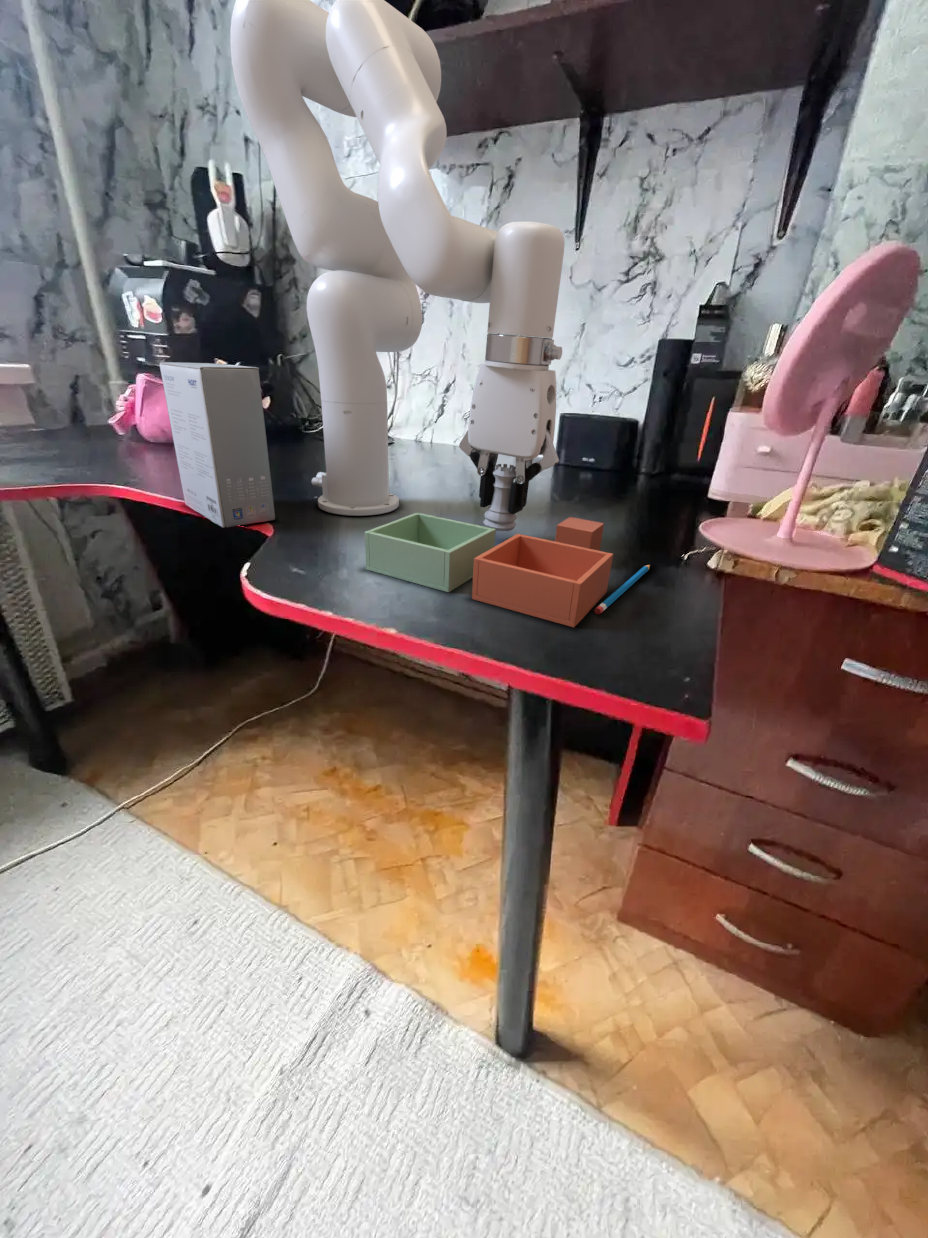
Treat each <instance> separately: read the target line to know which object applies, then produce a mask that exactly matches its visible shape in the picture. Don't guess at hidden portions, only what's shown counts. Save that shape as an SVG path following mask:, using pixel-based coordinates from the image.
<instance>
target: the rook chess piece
mask: <svg viewBox="0 0 928 1238" xmlns="http://www.w3.org/2000/svg"><path fill="white" fill-rule="evenodd" d="M502 465H503V466H502ZM493 475H494V477H495V483H494V484H493V485H494V494H493V498H492V502H491V505H489V506H488V509H487V510H486V511H485V512H484V518H485V519H484V520H482V521H483V522H482V523H483V524H484V527H488V528H493V529H496V532H509V531H512V530H513V529H515V527H516V526H517V522H515V521H516V520H517V519H518V518H517V517H518V516H517V513H515V514H510V513H509V512H508V508H509V499H510V490H511V484H512V483H514V482H515V478H516V465H515V466H514V464H509V467H508V463H503V464H502V463H497V464H496V467H495V470H494V471H493Z"/></svg>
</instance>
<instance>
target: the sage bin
mask: <svg viewBox="0 0 928 1238" xmlns="http://www.w3.org/2000/svg"><path fill="white" fill-rule="evenodd" d="M496 532H497V531H496V529H493V528H488V527H486V526H485V525H484V526H483V525H479V524H474V523H469V522H464V521H460V520H454V519H449V518H446V517H440V516H436V515H431V514H427V513H421V512H415V513H412V514H409V515H406V516H404V517H401V518H398V519H396V520H393V521H391V522H388V523H385V524H382V525H379V526H377V527H374V528H371V529H368V530H366V531H364V548H365V549H364V550H365V551H364V552H365V570H366V571H370V572H374V573H378V574H381V575H385V576H388V577H391V578H395V579H399V580H402V581H406V582H409V583H414V584H417V585H421V586H423V587H428V588H432V589H435V590H439V591H442V592H445V593H450V592H453V590H455V589H457V588H458V587H460V586H462V585H463V584H465V583H467V582H468V581H470V580H472V579H473V569H474V558H476V557H477V556H479V555H481V554H483V553H484V552H486V551H488V550H490V549H492V548H493V547H495V546H496Z"/></svg>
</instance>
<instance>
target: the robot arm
mask: <svg viewBox="0 0 928 1238" xmlns="http://www.w3.org/2000/svg"><path fill="white" fill-rule="evenodd" d="M229 34H230V35H229V37H230V38H229V43H230V45H229V46H230V59H231V66H232V71H233V73H232V74H233V77H234V83H235V86H236V90H237V93H238V97H239V100H240V102H241V105H242V108H243V110H244V113H245V115H246V117H247V119H248V122H249V124H250V126H251V129H252V131H253V133H254V135H255V137H256V139H257V141H258V144H259V147H260V148H261V150H262V154H263V155H264V158H265V162H266V164H267V167H268V170H269V172H270V173H269V174H270V176H271V179H272V182H273V185H274V188H275V192H276V194H277V197H278V201H279V203H280V206H281V209H282V212H283V215H284V218H285V220H286V224H287V226H288V230H289V232H290V235H291V238H292V240H293V243H294V245H295V248H296V250H297V252H298V254H299V256H300V257H301V258H302V259H303V260H304V261H305V262H306V263H307V264H309V265H311V266H313V267H315V268H319V269H323V270H326V271H327V272H325V273H324V272H323V274H321V275H319V276H318V277H317V278H316V279H315V280H314V281H313V282H312V284H311V286H310V287H309V289H308V293H307V297H306V315H307V321H308V327H309V330H310V333H311V334H310V335H311V338H312V343H313V346H314V350H315V357H316V362H317V370H318V379H319V393H320V402H321V403H320V404H321V416H322V417H321V418H322V431H323V433H322V434H323V448H324V461H325V462H324V463H325V472H324V471H323V472H322V471H319V472H317V473H316V475H315V477H312V478H311V485H312V486H314V487H318V488H321V489H322V495H320V496H319V497H318V498H317V505H318V508H319V509H320V510H322V511H324V512H327V513H330V514H333V515H340V516H351V517H352V516H354V517H363V516H376V515H377V516H378V515H383V514H387V513H390V512H393V511H395V510H397V509H398V508H399V507H400V499H399V497H398V496H397V495H396V494H393V493H391V492H390V480H389V479H390V475H389V474H390V473H389V471H390V469H389V465H390V464H389V423H388V422H389V418H388V417H389V415H388V414H389V413H388V389H387V381H386V376H385V372H384V369H383V366H382V364H381V362H380V360H379V357H378V354H377V353H399V352H403V351H407V350H409V349H410V348H411V347H413V346H414V345H415V343H416V342H417V341H418V340H419V337H420V334H421V331H422V326H423V309H422V303H421V299H420V294H419V291H418V288H419V289H420V290H422V291H423V292H424V293H426V294H428V295H431V296H434V297H439V298H446V299H451V300H458V301H462V302H468V303H474V304H489V308H488V320H487V331H486V333H487V334H486V344H485V346H486V347H485V354H484V355H485V356H484V357H485V358H484V363H480V364H479V368H478V370H477V374H476V379H475V382H474V388H473V390H472V396H471V402H470V408H469V416H468V417H469V418H468V424H467V425H468V427H467V431H466V432H465V434H464V435H463V437H462V439H461V441H460V442H459V444H458V447H459V449H460V450H461V451H462V452H463V453H464V454H465V455H466V456H467V457H469V458H470V461H471V462H472V463H473V466H475V468H476V473H477V475H478V476H480V480H479V490H478V491H479V492H478V498H479V499H480V500H479V501H480V502H479V506H480V507H481V508H487V507H489V506H490V505H491V502H492V498H493V494H494V485H493V484H494V483H495V477H494V475H493V471H494V470H495V469H496V465H497V464H498V457H499V455H501V456H507V457H512V458H515V466H516V470H515V471H516V478H515V479H514V482H513V483H512V484H511V490H510V499H509V508H508V512H509V513H510V514H517V513H519V512H522V511H523V509H524V508H525V507H526V505H527V503H528V502H527V501H528V492H529V486H530V485H529V484H530V481H532V480H533V479H534V478H535V477H536V476H538V475H539V474H540V473H541V472H542V471H545V470H547V469H550V468H553V467H555V466H557V465H558V464H559V463H560V459H559V456H558V453H557V450H556V448H555V444H554V439H555V431H556V429H555V428H556V415H557V414H556V413H557V374H556V370H554V369H549V368H550V366H551V365H552V361H554V360H561V359H562V355H563V347H562V346H557V345H556V344H555V339H553V338H554V331H555V323H556V315H557V310H558V309H557V308H558V301H559V293H560V287H561V278H562V271H563V262H564V255H565V245H566V244H565V242H566V241H565V237H564V234H563V232H562V230H561V229H560V228H559V227H557V226H555V225H552V224H549V223H546V222H545V223H544V222H538V221H511V222H508V223H506V224H503V225H502V226H501V227H499V229H498V230H495V229H491V228H488V227H485V226H482V225H480V224H477V223H474V222H471V221H470V220H469V221H468V220H466V219H463V218H462V217H458V216H455V215H452V214H451V212H450V211H449V209H448V207H447V205H446V204H445V202H444V200H443V198H442V196H441V194H440V191H439V190H438V188H437V185H436V183H435V182H434V181H435V180H434V179H433V176H432V174H431V172H430V170H431V168H433V166H434V165H435V164H436V163H437V161H438V160H439V158H440V157H441V156H442V153H443V151H444V148H445V146H446V142H447V136H448V135H447V134H448V132H447V124H446V120H445V117H444V115H443V112H442V111H441V109H440V106H439V105H438V103H437V101H438V99H439V96H440V92H441V87H442V86H441V85H442V67H441V60H440V57H439V54H438V50H437V48H436V46H435V44H434V42H433V40H432V39H431V37H430V35H429V34H428V33H427V32H426V31H425V30H424V29H423V28H422V27H420V26H419V25H418V24H417V23H416V22H414V21H412V20H411V19H409V17H407V16H406V15H404V14H403V13H402V12H401V11H399V10H398V9H397V8H396V7H394V6H393V5H391V4H390V3H389V2H387V1H386V0H335V1H334V2H333V4H332V5H331V7H330V9H329V11H327V10H326V9H324V8H323V7H321V6H319V5H318V4H316V3H315V2H313V1H312V0H235V2H234V5H233V8H232V13H231V21H230V33H229ZM305 98H306V99H307V100H309V101H312V102H314V103H316V104H319V105H320V106H323V107H324V108H327V109H329V110H331V111H333V112H335V113H338V114H341V115H344V116H347V117H351V118H357V121H358V122H359V125H360V126H361V129H362V131H363V133H364V135H365V137H366V139H367V141H368V143H369V145H370V148H371V149H372V152H373V153H374V155H375V158H376V160H377V162H378V165H379V167H378V171H377V179H376V180H377V181H376V186H377V187H376V190H377V191H376V192H377V200H375V199H373V198H371V197H369V196H366V195H363V194H360V193H358V192H355V191H353V190H351V189H350V188H348V186H347V185H346V184H345V183H344V181H343V179H342V177H341V175H340V172H339V169H338V166H337V163H336V161H335V158H334V154H333V150H332V147H331V144H330V142H329V139H328V137H327V135H326V133H325V132H324V131H325V130H323V128H322V126H321V124H320V123H319V121H318V119H317V118H316V117H315V115H314V114H313V112H312V110H311V109H310V107H309V106H308V104H307V102H306V101H305ZM417 287H418V288H417ZM539 456H542V459H540V460H538V461H535V459H536V458H537V457H539ZM534 461H535V462H534Z"/></svg>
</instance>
